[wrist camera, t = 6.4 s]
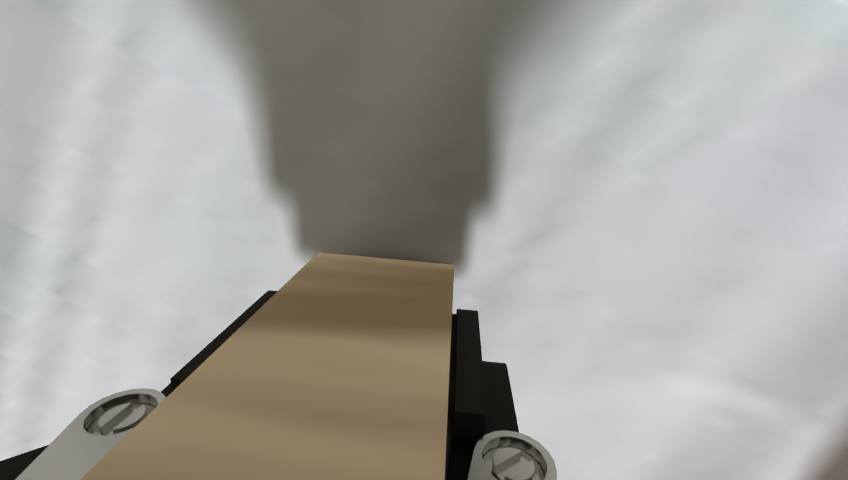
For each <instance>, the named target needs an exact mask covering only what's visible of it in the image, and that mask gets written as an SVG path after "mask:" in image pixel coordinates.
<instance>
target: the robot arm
mask: <svg viewBox="0 0 848 480" xmlns="http://www.w3.org/2000/svg"><path fill="white" fill-rule="evenodd" d="M277 292H278V291H267V292H266V293H265V294H264V295H263V296H262V297H261V298H259V299H258V300H257V301H256V302H255V303H254V304H253V305H252V306H251V307H249V308H248V309H247V310H246V311H245V312H244V313H243V314H242V315H241V316H239V317H238V318H237V319H236V320H235V321H234V322H233V323H232V324H231V325H230V326H228V327H227V328H226V329H225V330H224V331H223V332H222V333H221V334H220V335H218V336H217V337H216V338H215V339H214V340H213V341H212V342H211V343H210V344H208V345H207V346H206V347H205V348H204V349H203V350H202V351H201V352H200V353H199V354H197V355H196V356H195V357H194V358H193V359H192V360H191V361H190V362H189V363H187V364H186V365H185V366H184V367H183V368H182V369H181V370H180V371H179V372H177V373H176V374H175V375H174V376H173V377H172V378H171V383H170V384H169V385H168V386H167V387H166V388H165V389H164V390H163V391H161V392H159V391H156V390H154V389H144V388H142V389H132V390H127V391H123V392H119V393H115V394H113V395H110V396H108V397H105V398H103V399H101V400H99V401H97V402H95V403H94V404H92V405H90V406H89V407H88V408H86V409H85V410H84V411H83V412H82V413H80V414H79V415H78V416H77V417H76V418H75V419H74V420H73V421H72V422H71V423H70V424H69V425H68V426H67V427H66V428H65V430H64V431H63V432H62V433H61V434H60V435H59V436H58V437H57V438H56V439H55V440H54V441H53V442H52V443H51V444H50V445H47V446H44V447H41V448H38V449H35V450H32V451H29V452H26V453H23V454H21V455H18V456H15V457H12V458H9V459H6V460H3V461H0V480H80V479H82V478H83V477H84V476H85V475H86V474H87V473H88V472H89V471H90V470H91V469H92V468H93V467H94V466H95V465H96V464H97V463H98V462H99V461H100V460H101V459H103V458H104V457H105V456H106V455H107V454H108V453H109V452H110V451H111V450H112V449H113V448H114V447H115V446H116V445H117V444H118V443H119V442H120V441H121V440H122V439H123V438H125V437H126V436H127V435H128V434H129V433H130V432H131V431H132V430H133V429H134V428H135V427H136V426H137V425H138V424H139V423H140V422H141V421H142V420H143V419H144V418H146V417H147V416H148V415H149V414H150V413H151V412H152V411H153V410H154V409H155V408H156V407H157V406H158V405H159V404H160V403H161V402H162V401H163V400H164V399H165V398H166V397H168V396H169V395H170V394H171V393H172V392H173V391H174V390H175V389H176V388H177V387H178V386H179V385H180V384H181V383H182V382H183V381H184V380H185V379H186V378H187V377H189V376H190V375H191V374H192V373H193V372H194V371H195V370H196V369H197V368H198V367H199V366H200V365H201V364H202V363H203V362H204V361H205V360H206V359H207V358H208V357H209V356H211V355H212V354H213V353H214V352H215V351H216V350H217V349H218V348H219V347H220V346H221V345H222V344H223V343H224V342H225V341H226V340H227V339H228V338H229V337H230V336H232V335H233V334H234V333H235V332H236V331H237V330H238V329H239V328H240V327H241V326H242V325H243V324H244V323H245V322H246V321H247V320H248V319H249V318H250V317H251V316H252V315H254V314H255V313H256V312H257V311H258V310H259V309H260V308H261V307H262V306H263V305H264V304H265V303H266V302H267V301H268V300H269V299H270V298H271V297H272V296H273V295H275V294H276V293H277ZM445 480H557V471H556V467H555V463H554V460H553V458H552V457H551V455H550V454H549V452H548V451H547V450H546V449H545V448H544V447H543V446H542V445H541V444H540V443H539V442H537V441H536V440H534V439H532V438H531V437H529V436H527V435H524V434H521V433H519V430H518V425H517V419H516V414H515V409H514V403H513V398H512V392H511V387H510V381H509V376H508V370H507V366H506V364H505V363H496V362H486V361H482V355H481V343H480V332H479V320H478V311H472V310H461V309H457V314H452V324H451V347H450V369H449V392H448V415H447V438H446V460H445Z"/></svg>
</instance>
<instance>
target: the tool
mask: <svg viewBox="0 0 848 480" xmlns="http://www.w3.org/2000/svg"><path fill="white" fill-rule="evenodd" d="M453 279H454V265H451V264H441V263H430V262H419V261H408V260H397V259H387V258H376V257H365V256H354V255H343V254H332V253H322V252H319V253H318V254H316V255H315V256H314V257H313V258H312V259H311V260H310V261H309V262H308V263H307V264H306V265H305V266H304V267H303V268H302V269H301V270H300V271H299V272H298V273H297V274H295V275H294V276H293V277H292V278H291V279H290V280H289V281H288V282H287V283H286V284H285V285H284V286H283V287H282V288H281V289H280V290H279V291H278V292H277V293H276V294H275V295H273V296H272V297H271V298H270V299H269V300H268V301H267V302H266V303H265V304H264V305H263V306H262V307H261V308H260V309H259V310H258V311H257V312H256V313H255V314H254V315H252V316H251V317H250V318H249V319H248V320H247V321H246V322H245V323H244V324H243V325H242V326H241V327H240V328H239V329H238V330H237V331H236V332H235V333H234V334H233V335H232V336H230V337H229V338H228V339H227V340H226V341H225V342H224V343H223V344H222V345H221V346H220V347H219V348H218V349H217V350H216V351H215V352H214V353H213V354H212V355H211V356H209V357H208V358H207V359H206V360H205V361H204V362H203V363H202V364H201V365H200V366H199V367H198V368H197V369H196V370H195V371H194V372H193V373H192V374H191V375H190V376H189V377H187V378H186V379H185V380H184V381H183V382H182V383H181V384H180V385H179V386H178V387H177V388H176V389H175V390H174V391H173V392H172V393H171V394H170V395H169V396H168V397H166V398H165V399H164V400H163V401H162V402H161V403H160V404H159V405H158V406H157V407H156V408H155V409H154V410H153V411H152V412H151V413H150V414H149V415H148V416H147V417H146V418H144V419H143V420H142V421H141V422H140V423H139V424H138V425H137V426H136V427H135V428H134V429H133V430H132V431H131V432H130V433H129V434H128V435H127V436H126V437H125V438H123V439H122V440H121V441H120V442H119V443H118V444H117V445H116V446H115V447H114V448H113V449H112V450H111V451H110V452H109V453H108V454H107V455H106V456H105V457H104V458H103V459H101V460H100V461H99V462H98V463H97V464H96V465H95V466H94V467H93V468H92V469H91V470H90V471H89V472H88V473H87V474H86V475H85V476H84V477H83V478H82V479H80V480H445V460H446V438H447V415H448V392H449V369H450V347H451V324H452V301H453Z"/></svg>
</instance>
